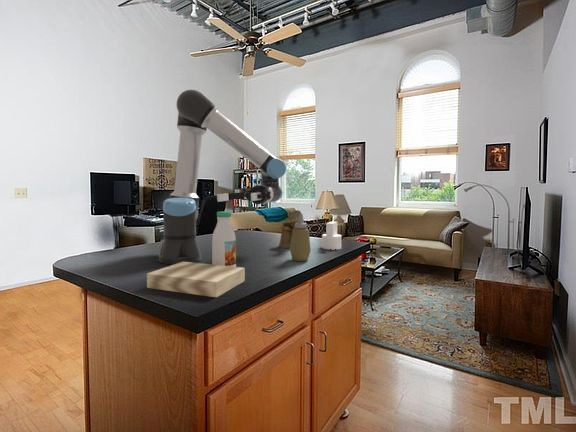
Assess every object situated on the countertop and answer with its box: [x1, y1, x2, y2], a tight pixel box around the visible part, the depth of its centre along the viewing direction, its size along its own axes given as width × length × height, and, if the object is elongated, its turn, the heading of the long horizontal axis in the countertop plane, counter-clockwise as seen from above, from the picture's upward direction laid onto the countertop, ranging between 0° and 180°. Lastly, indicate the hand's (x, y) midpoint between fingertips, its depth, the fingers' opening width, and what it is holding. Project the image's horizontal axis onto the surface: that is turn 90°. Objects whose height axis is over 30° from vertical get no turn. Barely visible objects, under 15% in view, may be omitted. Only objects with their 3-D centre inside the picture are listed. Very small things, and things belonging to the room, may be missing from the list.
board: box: [146, 262, 246, 298], centre depth 96 cm, size 22×16×4 cm
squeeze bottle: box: [289, 213, 311, 262], centre depth 129 cm, size 8×8×18 cm
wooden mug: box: [278, 210, 303, 249], centre depth 156 cm, size 9×14×18 cm, turn 27°
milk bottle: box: [211, 211, 237, 267], centre depth 109 cm, size 8×8×20 cm
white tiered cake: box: [321, 221, 342, 251], centre depth 157 cm, size 9×9×12 cm
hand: (234, 197), depth 117 cm, fingers open, 13 cm apart
